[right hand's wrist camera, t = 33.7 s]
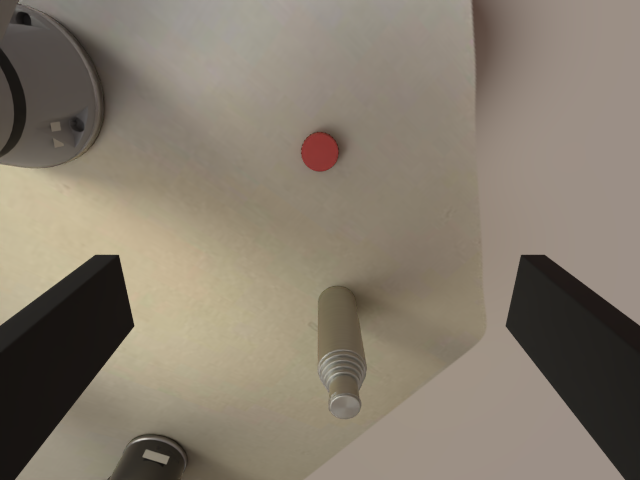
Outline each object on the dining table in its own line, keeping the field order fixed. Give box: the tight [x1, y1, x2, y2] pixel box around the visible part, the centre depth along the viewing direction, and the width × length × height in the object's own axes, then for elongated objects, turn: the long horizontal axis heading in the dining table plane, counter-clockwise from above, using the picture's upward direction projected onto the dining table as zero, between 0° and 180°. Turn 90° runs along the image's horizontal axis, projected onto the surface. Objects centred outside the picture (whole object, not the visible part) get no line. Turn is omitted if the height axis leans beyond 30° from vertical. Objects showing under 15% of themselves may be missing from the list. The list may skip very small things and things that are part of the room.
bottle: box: [318, 286, 367, 419], centre depth 40 cm, size 5×5×17 cm
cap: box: [301, 132, 339, 171], centre depth 40 cm, size 4×4×2 cm
